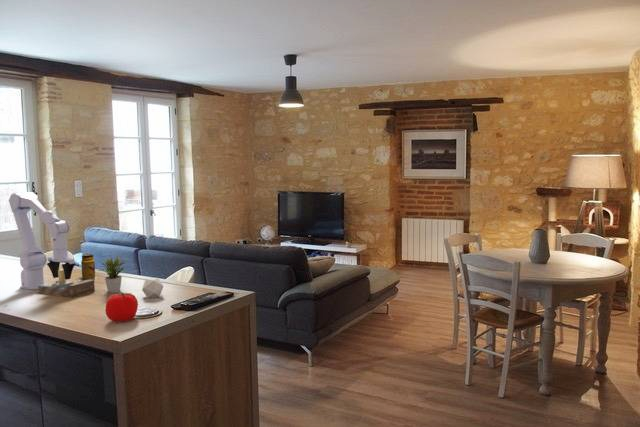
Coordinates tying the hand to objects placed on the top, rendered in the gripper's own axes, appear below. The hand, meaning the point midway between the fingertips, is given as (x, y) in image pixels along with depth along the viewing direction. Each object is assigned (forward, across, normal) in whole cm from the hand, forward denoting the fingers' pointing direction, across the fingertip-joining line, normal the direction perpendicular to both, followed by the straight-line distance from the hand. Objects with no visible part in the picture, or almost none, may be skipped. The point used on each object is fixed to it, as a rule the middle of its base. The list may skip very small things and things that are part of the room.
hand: (61, 278), depth 236 cm
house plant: (+6, +22, +9) cm, 25 cm away
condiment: (+6, -10, +22) cm, 25 cm away
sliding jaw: (+4, 0, 0) cm, 4 cm away
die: (+6, +44, +9) cm, 45 cm away
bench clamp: (+6, +2, 0) cm, 6 cm away
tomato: (+6, +57, -21) cm, 61 cm away
